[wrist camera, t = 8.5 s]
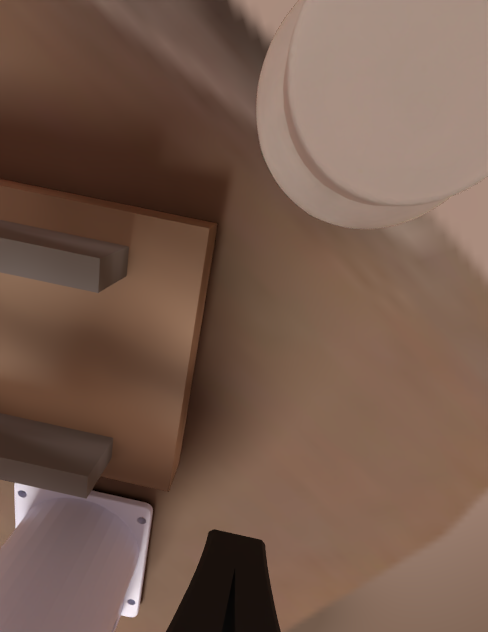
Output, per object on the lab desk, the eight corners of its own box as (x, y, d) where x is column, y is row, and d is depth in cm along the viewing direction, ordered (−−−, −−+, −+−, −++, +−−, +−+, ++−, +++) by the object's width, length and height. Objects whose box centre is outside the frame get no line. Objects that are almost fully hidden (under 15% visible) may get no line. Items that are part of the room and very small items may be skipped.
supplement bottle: (436, 102, 14) (732, -51, 5) (359, 234, 16) (467, 303, 7) (307, 31, 13) (365, -282, 4) (243, 174, 15) (189, 160, 6)
